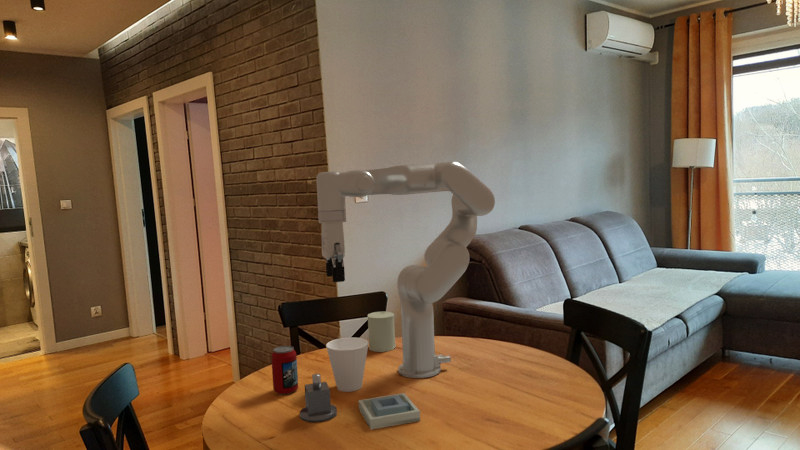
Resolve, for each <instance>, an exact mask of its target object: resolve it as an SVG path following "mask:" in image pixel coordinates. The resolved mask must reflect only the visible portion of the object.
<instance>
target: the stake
mask: <svg viewBox="0 0 800 450" xmlns="http://www.w3.org/2000/svg"><path fill="white" fill-rule="evenodd" d="M311 378H312V380H311V381H312V383H309V384H304V400H305V401H304V402H305V407H303V408H302V409H300V411H299V418H300V419H301V421H303V422H305V423H310V424H311V423H315V424H316V423H323V422H327V421H330V420H332V419H334V418H335V417H336V416H337V415H338V410H337V407H336V405H334V404H332V403H331V389H330V387H329V385H328V382H327V381H322V379H321V378H322V377H321V374H320V373H313V374H312V377H311Z"/></svg>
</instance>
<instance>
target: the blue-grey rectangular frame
mask: <svg viewBox="0 0 800 450" xmlns="http://www.w3.org/2000/svg"><path fill="white" fill-rule="evenodd" d="M393 395H394V396H388V395H387V396H388V397H382V396H381V397H382V398H376V397H374V398H375V399H371V409H372V411H373V412H374V414H375V415H376V417H379V416H385V415H391V414H397V413H402V412H407V410H410V405H409V404H408V402H406V403H404V402H403V400H402V399H401V398H400V397H399V396H398V395H395V394H393Z"/></svg>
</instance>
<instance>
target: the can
mask: <svg viewBox="0 0 800 450" xmlns="http://www.w3.org/2000/svg"><path fill="white" fill-rule="evenodd" d="M367 327H368V342H369V344H368V350H369V351H372V352H375V353H385V351H386V352H391V351H394V350H395V349H396V348H397V347H396V346H397V345H396V336H395V335H396V334H395V333H396V332H395V314H394V312H391V311H374V312H371V313H368V314H367ZM395 347H396V348H395ZM394 348H395V349H394ZM390 350H391V351H390Z"/></svg>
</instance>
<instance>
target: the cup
mask: <svg viewBox="0 0 800 450" xmlns="http://www.w3.org/2000/svg"><path fill="white" fill-rule="evenodd" d="M325 347H326V350H327V354H328V358H329V362H330V366H331V369H332V373H333V377H334V381H335V385H336V388H337V391H340V392H344V393H345V392H348V393H349V392H355V391H358V390H360V389H361V388H362V387H363V381H364V374H365V368H366V361H367V356H368V350H369V340H367V339H366V338H361V337H343V338H341V337H340V338H336V339H333V340H331V341H328V342H327V343H326V345H325Z"/></svg>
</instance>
